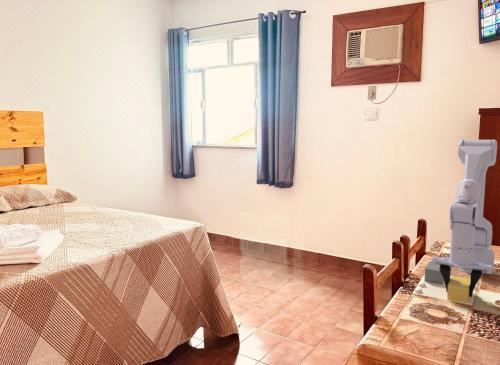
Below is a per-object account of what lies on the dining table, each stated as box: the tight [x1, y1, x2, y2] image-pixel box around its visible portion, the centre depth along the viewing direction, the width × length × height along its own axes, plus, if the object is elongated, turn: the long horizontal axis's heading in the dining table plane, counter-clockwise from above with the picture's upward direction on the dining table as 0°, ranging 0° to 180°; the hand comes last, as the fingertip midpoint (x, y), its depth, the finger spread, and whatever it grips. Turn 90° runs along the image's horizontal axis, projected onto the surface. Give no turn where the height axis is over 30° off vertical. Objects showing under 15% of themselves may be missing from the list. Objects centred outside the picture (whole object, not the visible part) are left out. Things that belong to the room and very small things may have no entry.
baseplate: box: [412, 273, 480, 306], centre depth 119 cm, size 20×15×2 cm
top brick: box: [447, 275, 471, 303], centre depth 112 cm, size 8×5×4 cm, turn 146°
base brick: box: [424, 260, 444, 284], centre depth 125 cm, size 8×5×4 cm, turn 146°
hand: (459, 293), depth 112 cm, fingers closed on top brick, 5 cm apart
